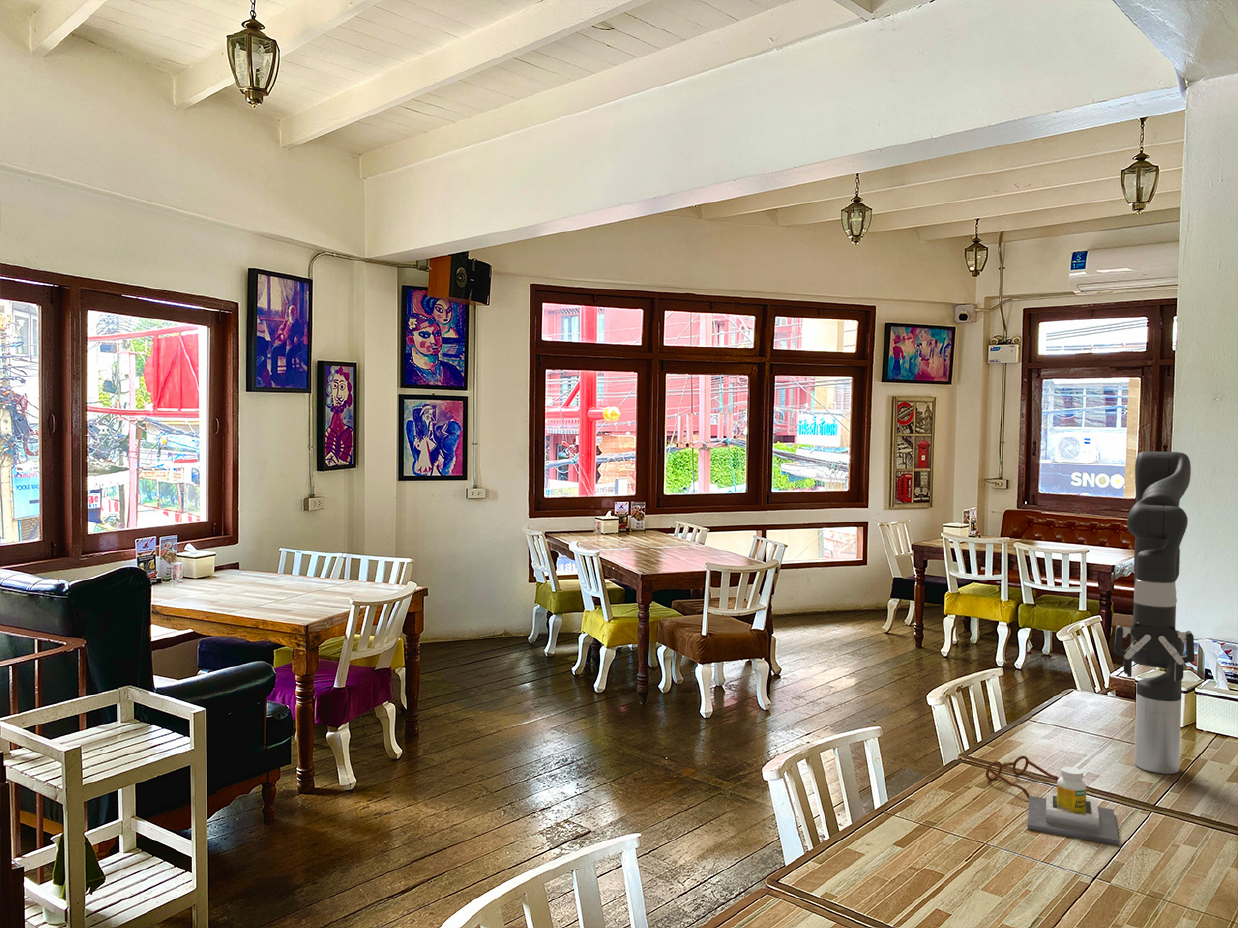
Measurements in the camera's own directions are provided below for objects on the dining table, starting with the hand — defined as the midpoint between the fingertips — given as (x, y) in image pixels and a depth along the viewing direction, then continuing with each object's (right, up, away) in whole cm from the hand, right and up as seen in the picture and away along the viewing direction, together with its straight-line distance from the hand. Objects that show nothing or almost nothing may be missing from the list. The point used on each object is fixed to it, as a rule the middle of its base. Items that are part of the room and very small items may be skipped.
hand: (1152, 678), depth 187 cm
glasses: (-19, -29, +15) cm, 37 cm away
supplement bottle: (-19, -28, -3) cm, 33 cm away
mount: (-19, -29, -3) cm, 34 cm away
